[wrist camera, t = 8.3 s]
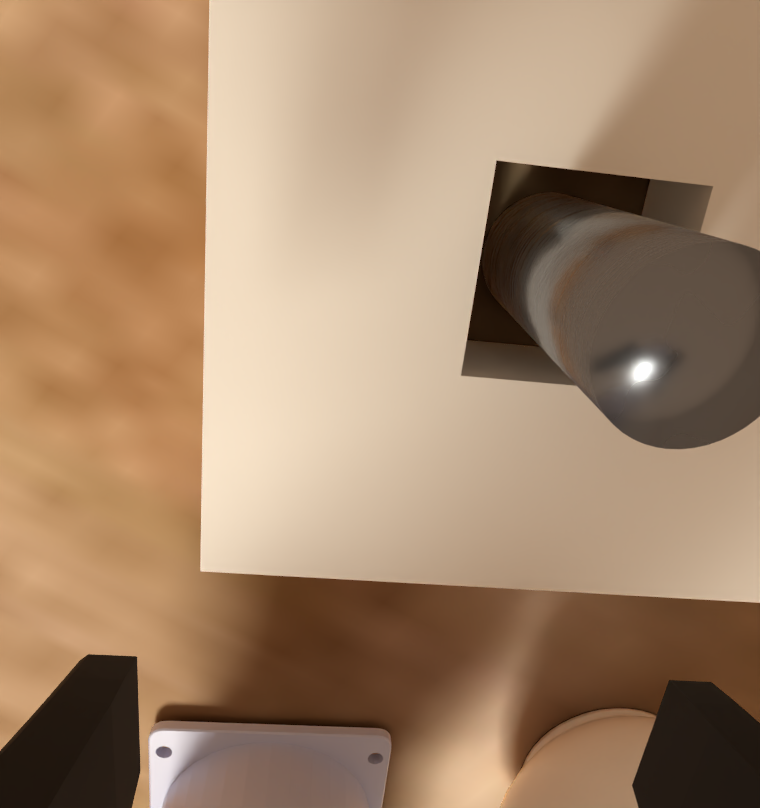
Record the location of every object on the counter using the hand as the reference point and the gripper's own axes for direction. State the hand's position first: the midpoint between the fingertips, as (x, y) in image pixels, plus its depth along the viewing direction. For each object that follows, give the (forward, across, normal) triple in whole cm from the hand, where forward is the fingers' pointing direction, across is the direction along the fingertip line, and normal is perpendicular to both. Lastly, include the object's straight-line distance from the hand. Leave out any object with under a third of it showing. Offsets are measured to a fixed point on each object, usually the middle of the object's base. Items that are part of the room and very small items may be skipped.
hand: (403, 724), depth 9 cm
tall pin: (+10, -4, -5) cm, 12 cm away
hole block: (+10, -4, -5) cm, 12 cm away
